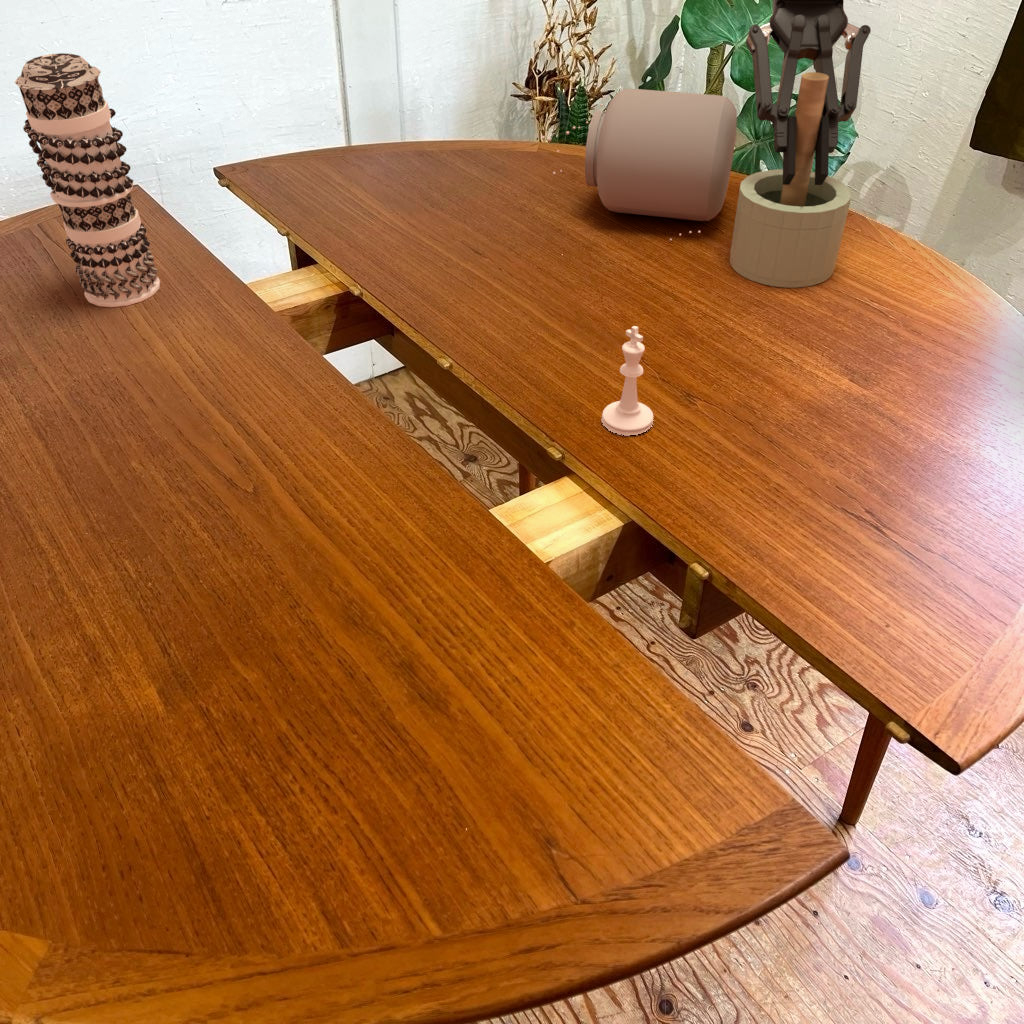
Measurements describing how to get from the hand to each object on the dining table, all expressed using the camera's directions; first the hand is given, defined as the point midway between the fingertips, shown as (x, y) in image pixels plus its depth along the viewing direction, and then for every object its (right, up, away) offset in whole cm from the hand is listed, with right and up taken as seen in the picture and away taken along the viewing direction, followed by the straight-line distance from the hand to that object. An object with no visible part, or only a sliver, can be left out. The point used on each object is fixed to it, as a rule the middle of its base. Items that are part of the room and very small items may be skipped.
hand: (805, 179), depth 105 cm
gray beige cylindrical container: (0, -7, +9) cm, 12 cm away
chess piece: (-21, -28, -14) cm, 38 cm away
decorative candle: (-77, -11, +7) cm, 78 cm away
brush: (0, -4, +9) cm, 9 cm away
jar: (-17, +2, +21) cm, 27 cm away
